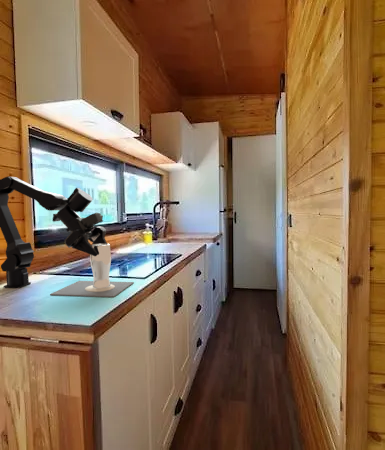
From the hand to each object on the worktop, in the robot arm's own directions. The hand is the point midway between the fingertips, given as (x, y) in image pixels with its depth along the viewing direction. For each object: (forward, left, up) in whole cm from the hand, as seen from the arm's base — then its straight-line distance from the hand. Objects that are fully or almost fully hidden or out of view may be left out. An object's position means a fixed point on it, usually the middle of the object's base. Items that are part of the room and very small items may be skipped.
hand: (103, 253), depth 105 cm
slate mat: (-4, 0, -13) cm, 13 cm away
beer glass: (-1, +1, -12) cm, 12 cm away
